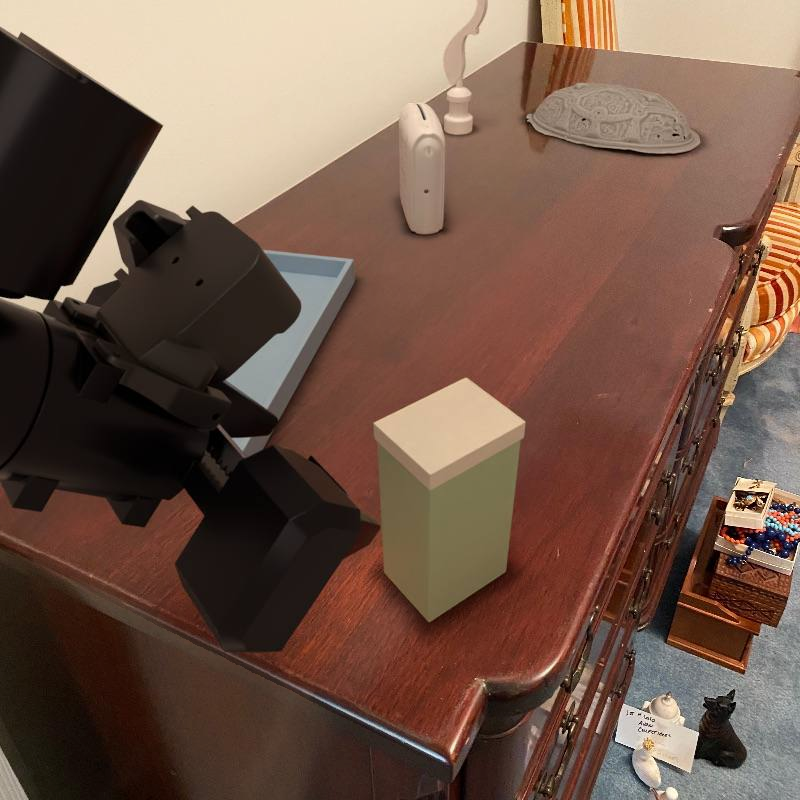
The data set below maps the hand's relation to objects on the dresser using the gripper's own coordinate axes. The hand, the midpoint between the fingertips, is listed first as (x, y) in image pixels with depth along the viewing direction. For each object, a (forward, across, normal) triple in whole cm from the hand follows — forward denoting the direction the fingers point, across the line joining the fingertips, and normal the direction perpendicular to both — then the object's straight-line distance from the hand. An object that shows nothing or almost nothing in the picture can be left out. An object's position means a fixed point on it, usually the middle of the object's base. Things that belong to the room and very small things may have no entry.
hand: (319, 475), depth 37 cm
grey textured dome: (+64, +46, -43) cm, 90 cm away
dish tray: (+16, +29, +4) cm, 33 cm away
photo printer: (+37, +41, -17) cm, 58 cm away
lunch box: (+15, 0, +4) cm, 16 cm away
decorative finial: (+53, +59, -32) cm, 85 cm away
